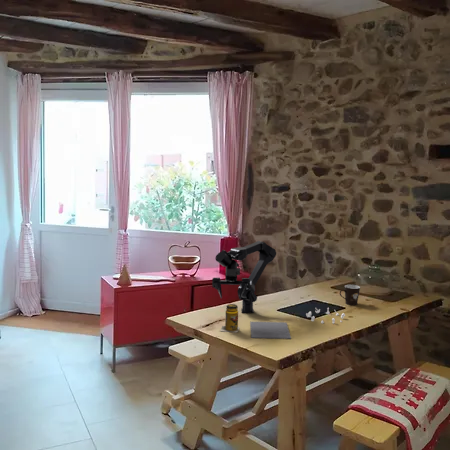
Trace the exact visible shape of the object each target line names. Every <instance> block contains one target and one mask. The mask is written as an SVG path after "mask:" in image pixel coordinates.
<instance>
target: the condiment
mask: <svg viewBox="0 0 450 450" xmlns="http://www.w3.org/2000/svg"><path fill="white" fill-rule="evenodd" d="M238 309H239V308H238V305H237V304H235V303H229V304H227V305H226V310H225V318H224V319H225V321H224V322H225V324H224V325H222V326H221V328H220V330H219V331H220V332H226V333H238V332H239V330H240V327H239V311H238Z"/></svg>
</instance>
